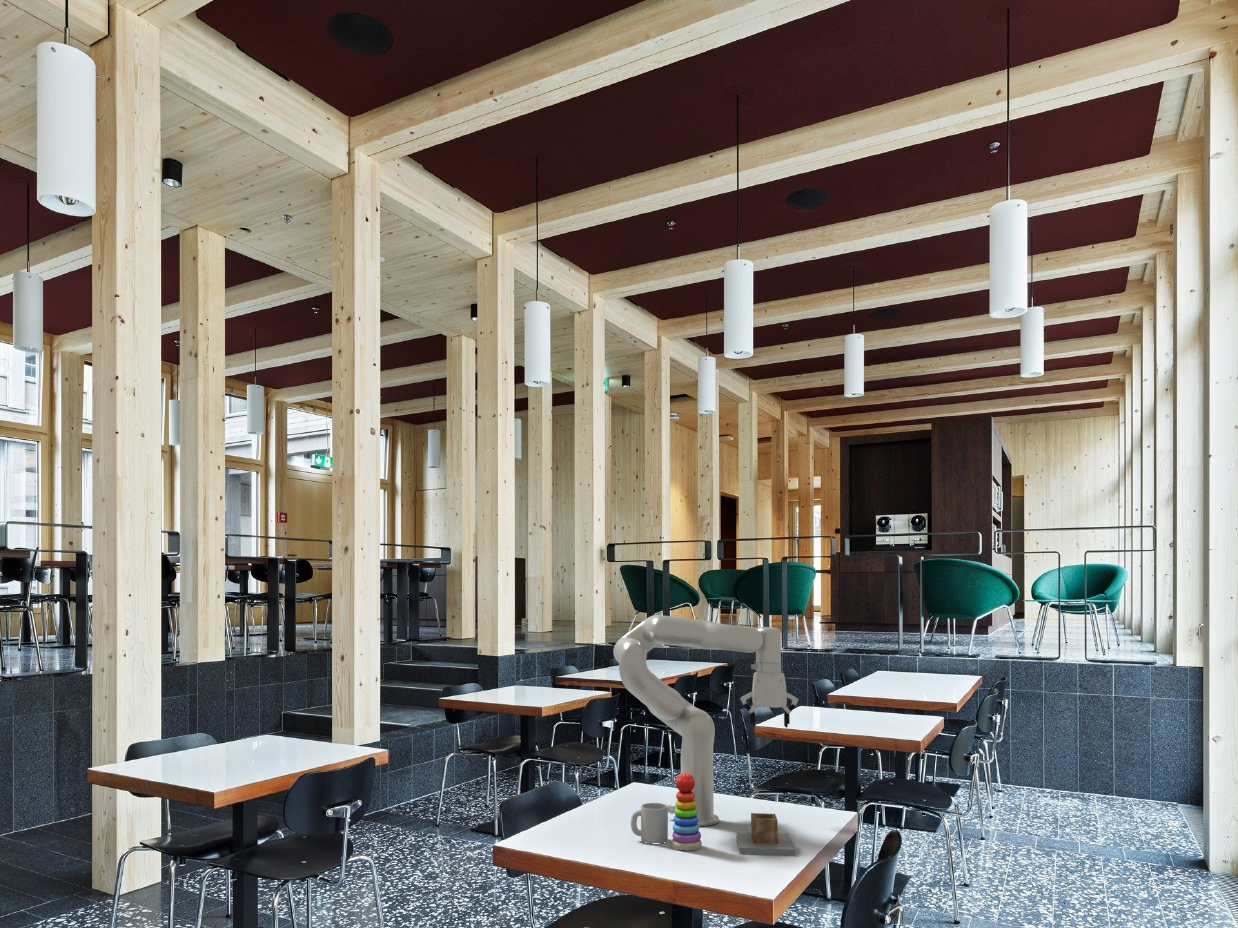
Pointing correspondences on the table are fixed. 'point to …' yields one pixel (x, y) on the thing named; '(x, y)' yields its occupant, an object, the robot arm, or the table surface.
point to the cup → (651, 823)
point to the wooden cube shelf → (764, 828)
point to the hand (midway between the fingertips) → (769, 726)
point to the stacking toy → (686, 816)
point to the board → (765, 845)
